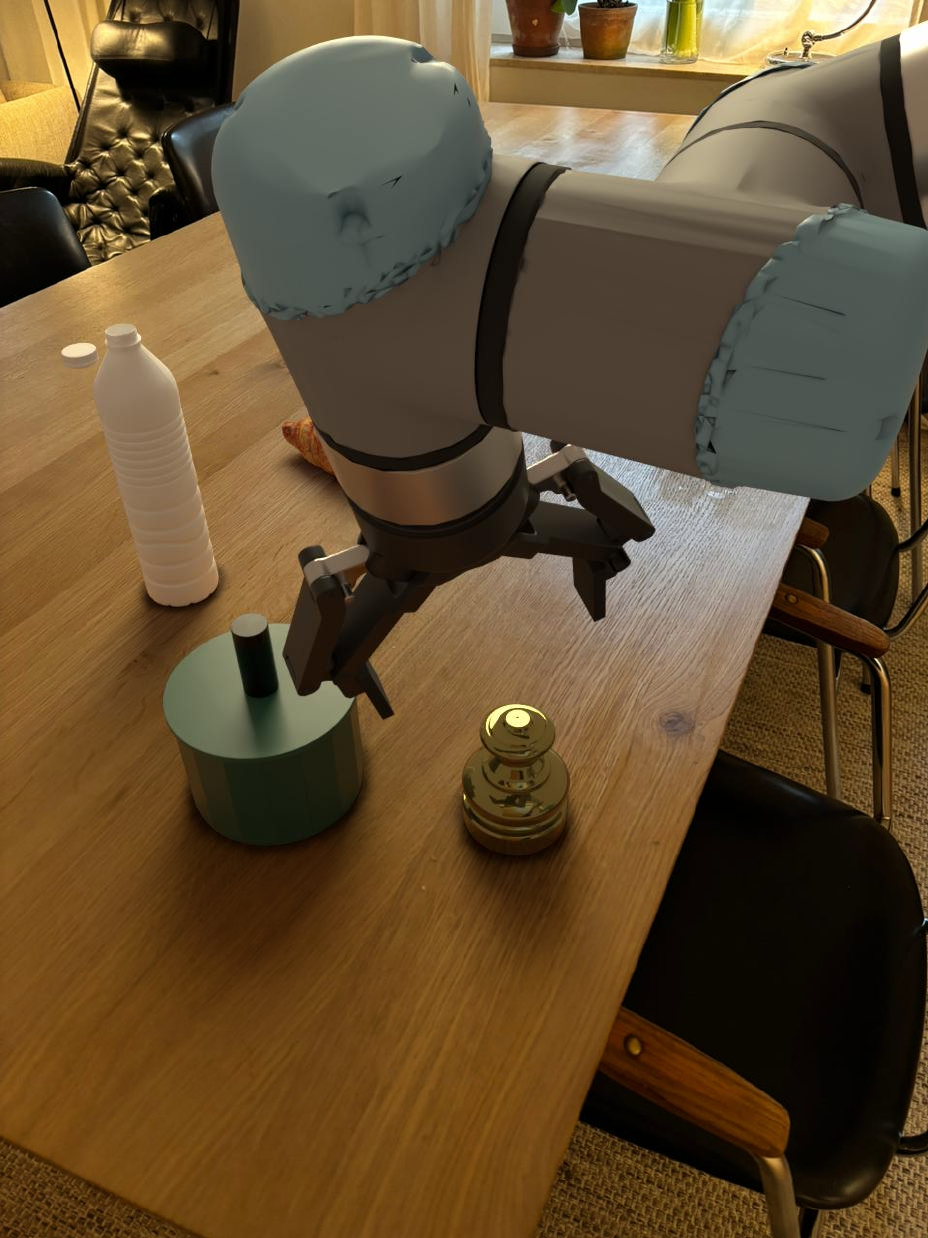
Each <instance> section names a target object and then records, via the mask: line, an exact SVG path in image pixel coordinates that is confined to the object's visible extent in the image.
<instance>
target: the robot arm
mask: <svg viewBox="0 0 928 1238" xmlns="http://www.w3.org/2000/svg"><path fill="white" fill-rule="evenodd" d="M210 166H211V168H210V170H211V176H210V177H211V182H212V183H211V184H212V188H213V195H214V198H215V201H216V205H217V206H218V211H219V213H220V216H221V218H222V221H223V224H224V227H225V229H226V232H227V234H228V238H229V240H230V243H231V247H232V249H233V251H234V254H235V258H236V260H237V263H238V266H239V268H240V278H241V279H240V280H241V283H242V287H243V290H244V292H245V293H246V295H247V298H248V299H249V300H250V302H251V303H252V304H253V306H254V307H255V308H256V309H257V310H258V311H259V313H260V315H261V317H262V319H263V320H264V322H265V325H266V326H267V329H268V330H269V332H270V334H271V336H272V339H273V340H274V343H275V345H276V347H277V349H278V351H279V353H280V355H281V358H282V359H283V362H284V364H285V366H286V368H287V371H288V372H289V374H290V376H291V378H292V381H293V383H294V384H295V387H296V389H297V391H298V394H299V395H300V397H301V400H302V402H303V404H304V406H305V408H306V410H307V413H308V416H309V418H311V420H312V423H313V425H314V429H315V432H316V434H317V436H318V438H319V440H320V443H321V445H322V447H323V449H324V451H325V453H326V456H327V458H328V460H329V462H330V464H331V466H332V469H333V471H334V473H335V475H336V476H335V475H334V476H335V477H336V480H337V481H338V483H339V484H340V485H339V486H341V488H342V491H343V494H344V496H345V499H346V501H347V503H348V505H349V507H350V509H351V512H352V514H353V515H354V518H355V520H356V522H357V523H356V524H357V525H358V527H359V529H360V532H359V535H358V537H357V540H356V545H354V546H352V547H349V548H347V549H344V550H341V551H339V552H336V553H333V554H329V555H327V554H326V551H325V549H324V547H323V546H322V545H319V544H312V545H309V546H308V545H307V546H306V547H304V548H303V549H301V550H300V551H299V552H298V554H297V559H298V562H299V565H300V569H301V572H302V574H303V578H302V582H301V586H300V590H299V593H298V597H297V600H296V603H295V607H294V611H293V614H292V618H291V620H290V623H289V624H290V628H289V631H288V635H287V638H286V642H285V645H284V649H283V652H282V655H283V658H284V661H285V663H286V666H287V668H288V671H289V673H290V676H291V679H292V681H293V684H294V686H295V689H296V691H297V694H298V695H299V696H307V695H310V694H313V693H314V692H316V691H317V690H318V689H319V688H320V686H321V683H322V682H324V681H332V682H333V684H334V685H336V686H337V687H338V688H339V689H340V691H341V692H342V693H343V695H344V696H345V697H346V698H350V699H351V698H353V697H356V696H357V697H358V696H360V695H362V694H365V695H366V696H367V698H368V700H369V701H370V703H371V704H372V706H373V707H374V708H375V710H376V712H377V713H378V715H379V716H380V718H381V720H382V721H384V720H387V719H389V718H391V717H394V716H395V712H394V710H393V707H392V705H391V702H390V700H389V698H388V695H387V693H386V691H385V689H384V686H383V684H382V682H381V679H380V677H379V674H378V673H377V672H376V670H375V668H374V667H373V665H372V663H371V661H370V658H371V657H372V656H373V654H374V653H375V652H376V650H378V648H379V647H380V646H381V644H382V643H383V642H384V640H386V638H387V637H388V635H389V634H390V632H392V630H393V629H394V627H396V625H397V624H398V623H399V621H400V620H401V618H402V617H403V616H404V615H405V614H414V613H416V612H417V611H419V609H421V607H422V606H423V605H424V603H425V602H426V600H427V599H428V598H429V596H430V595H431V594H432V593H433V592H434V591H435V589H436V588H437V587H440V586H442V585H444V584H446V583H449V582H451V581H453V580H455V579H457V578H458V577H460V576H461V575H463V574H464V573H466V572H469V571H472V570H476V569H478V568H481V567H485V566H486V565H488V564H490V563H492V562H495V561H497V560H499V559H500V558H502V557H505V558H506V557H507V558H515V559H521V560H532V559H534V558H535V557H536V556H537V555H538V554H543V555H550V556H557V557H564V558H571V562H572V564H571V565H572V578H573V579H572V581H573V587H574V589H575V591H576V592H577V594H578V596H579V598H580V600H581V601H582V603H583V605H584V607H585V609H586V610H587V613H588V614H589V616H590V618H591V619H592V621H593V623H596V622H598V621H601V620H603V619H605V618H607V581H608V580H611V579H613V578H616V577H617V575H618V574H619V573H621V572H623V571H625V570H627V569H628V568H629V567H630V566H631V565H632V559H631V558H630V556H629V555H628V552H627V551H626V550H625V548H624V546H625V545H626V544H627V543H628V542H630V541H634V542H636V543H642V542H645V541H647V540H649V539H650V538H652V537H653V536H654V535H655V533H656V530H657V529H656V527H655V526H654V524H653V523H652V521H651V518H649V515H648V514H647V512H646V511H645V509H644V508H643V506H642V505H641V503H640V500H638V498H637V497H636V494H635V493H634V492H633V491H631V489H629V488H627V487H626V486H625V485H623V484H622V483H621V482H620V481H618V480H617V479H615V478H614V477H613V476H611V475H610V474H608V472H606V471H604V470H603V469H601V467H599V466H598V465H597V464H595V463H593V462H592V461H591V459H590V458H589V457H588V455H587V453H586V452H585V450H589V451H594V452H596V453H601V454H605V455H609V456H611V457H612V456H613V457H615V458H620V459H623V460H628V461H631V462H635V463H639V464H641V465H646V466H651V467H654V468H657V469H661V470H665V471H669V472H673V473H676V474H681V475H685V476H689V477H693V478H696V479H700V480H704V481H706V482H709V484H711V486H715V487H719V488H722V489H723V488H726V489H730V490H734V489H736V488H738V487H739V488H751V489H755V490H760V491H761V490H762V491H767V492H768V491H769V492H772V493H773V492H774V493H780V494H786V495H791V496H796V497H803V498H808V499H814V500H819V501H826V502H841V501H844V500H848V499H851V498H853V497H856V496H857V495H859V494H861V493H862V492H864V491H865V490H866V489H867V488H868V487H870V485H872V484H873V483H874V482H875V480H876V479H877V478H878V476H879V475H880V473H881V471H882V470H883V468H884V466H885V464H886V463H887V460H888V458H889V456H890V453H891V452H892V449H893V447H894V445H895V442H896V440H897V438H898V435H899V433H900V430H901V428H902V425H903V422H904V420H905V417H906V415H907V412H908V409H909V407H910V404H911V401H912V398H913V395H914V392H915V390H916V387H917V383H918V381H919V377H920V376H921V375H920V374H921V371H922V368H923V365H924V362H925V359H926V355H927V352H928V20H926V21H923V22H920V23H918V24H915V25H913V26H910V27H907V28H905V29H902V30H901V32H899V33H897V34H895V35H892V36H890V37H889V36H888V37H887V38H884V39H881V40H878V41H875V42H871V43H869V44H864V45H862V46H859V47H856V48H854V49H852V50H850V51H849V50H848V51H846V52H844V53H841V54H839V55H836V56H834V57H831V58H828V59H826V60H823V61H821V62H814V61H802V62H801V61H797V60H795V61H787V62H782V63H777V64H773V65H769V66H766V67H764V68H762V69H760V70H757V71H755V72H753V73H751V74H750V75H748V76H747V77H745V78H743V79H742V80H739V81H737V82H736V83H734V84H732V85H730V86H728V87H727V88H725V89H723V90H722V91H721V92H720V93H719V95H718V96H717V97H716V98H715V99H714V100H713V102H711V104H709V105H708V106H706V107H705V108H703V109H701V112H699V114H698V115H697V117H696V118H695V120H694V121H693V123H692V124H691V126H690V128H689V129H688V131H687V133H686V134H685V136H684V138H683V140H682V142H681V144H680V145H679V147H678V148H677V150H675V152H674V154H673V155H672V156H671V158H670V159H669V160H668V162H667V163H666V165H664V167H663V169H662V170H661V171H660V173H659V174H658V175H657V176H656V178H655V179H654V180H650V179H642V178H635V177H627V176H619V175H613V174H605V173H597V172H590V171H582V170H574V169H572V167H569V166H563V165H556V164H549V163H548V162H544V161H540V160H535V159H531V158H526V157H518V156H511V155H505V154H499V153H498V154H497V153H494V149H493V147H492V137H491V136H490V135H489V133H488V130H487V128H486V127H485V120H483V117H482V113H481V109H480V106H479V102H478V100H477V98H476V95H475V93H474V90H473V89H472V87H471V85H470V83H469V81H468V80H467V79H466V78H465V76H464V75H463V74H462V73H461V71H460V70H459V69H458V68H457V67H455V66H453V65H452V64H451V63H448V62H445V61H441V60H439V59H437V58H436V57H435V56H434V55H432V54H431V53H430V52H429V51H428V49H426V48H425V47H424V46H423V45H422V44H419V43H417V42H415V41H411V40H408V39H404V38H398V37H392V36H387V35H386V36H385V35H353V36H347V37H341V38H335V39H330V40H327V41H323V42H320V43H316V44H313V45H311V46H308V47H306V48H302V49H300V50H298V51H296V52H293V53H291V54H290V55H287V56H286V57H284V58H283V59H281V60H279V61H277V62H275V63H274V64H272V65H271V66H270V67H268V68H267V69H266V70H264V71H262V72H261V73H260V74H259V75H258V76H256V77H255V78H254V80H252V81H251V82H250V83H249V84H248V85H247V86H246V87H245V88H244V89H243V90H242V91H241V92H240V94H239V95H238V97H237V99H236V101H235V103H234V105H233V107H232V109H231V111H230V112H229V113H228V114H227V115H226V116H225V118H224V119H223V121H222V123H221V125H220V128H219V130H218V132H217V134H216V137H215V140H214V144H213V148H212V154H211V165H210ZM523 433H524V434H529V435H532V436H536V437H540V438H544V439H547V440H550V442H549V448H550V452H551V454H550V455H548V456H546V457H545V458H544V459H541V460H539V461H538V462H536V463H534V464H532V465H530V466H528V467H527V459H526V452H525V444H524V438H523ZM584 449H585V450H584ZM545 492H552V493H553V494H555V495H562V497H563V498H564V500H565V502H567V503H571V502H574V501H577V502H578V504H579V505H580V506H581V508H580V507H575V506H571V505H566V504H565V505H564V504H560V503H555V502H550V501H544V500H541V494H542V493H545ZM361 576H363V577H362V578H361V580H360V581H359V583H358V584H357V581H358V580H359V578H360V577H361ZM356 584H357V586H356ZM353 589H354V590H353Z"/></svg>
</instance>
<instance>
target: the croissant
mask: <svg viewBox="0 0 928 1238" xmlns="http://www.w3.org/2000/svg"><path fill="white" fill-rule="evenodd" d="M281 430H282V435H283V438H284V439H285V441H286V442H287V443H288V444H290V446H292V447H294V449H297V450H298V452H299V453H300V454H301V456H302V457H303V459H305V460H307V462H308V463H310V464H312V465H314V466H315V467H319V468H321V469H322V470H323V471H324V472H326V473H328V474H330V475H332V476H335V477H336V475H335V473H334V471H333V469H332V466H331V464H330V462H329V460H328V458H327V456H326V453H325V451H324V449H323V447H322V445H321V443H320V440H319V438H318V436H317V434H316V432H315V429H314V425H313V423H312V420H311V418H310V417H305V418H302V419H299V420H298V421H297V422H294V421H286V422H284V423H283V425H282V426H281Z"/></svg>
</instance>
